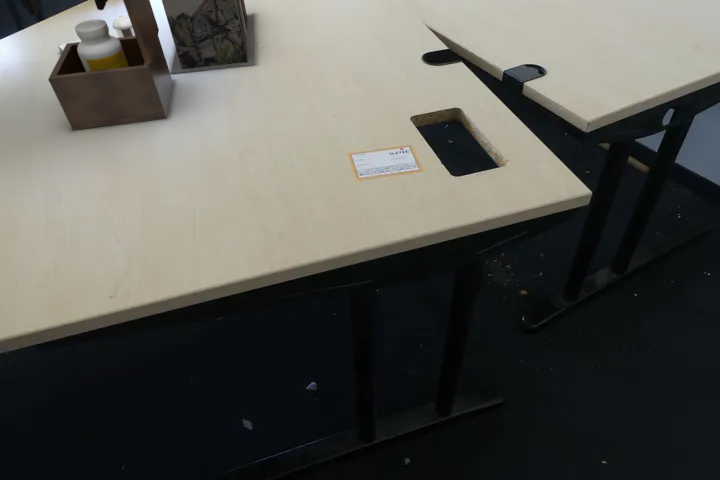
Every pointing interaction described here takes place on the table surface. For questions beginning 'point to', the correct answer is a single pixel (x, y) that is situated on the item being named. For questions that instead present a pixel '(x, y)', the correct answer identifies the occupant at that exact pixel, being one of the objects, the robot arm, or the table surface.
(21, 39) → the table surface
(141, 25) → the lid
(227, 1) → the bookend
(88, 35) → the supplement bottle
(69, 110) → the chest
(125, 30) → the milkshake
